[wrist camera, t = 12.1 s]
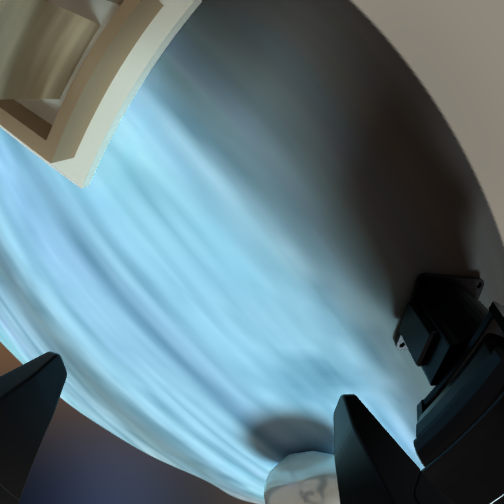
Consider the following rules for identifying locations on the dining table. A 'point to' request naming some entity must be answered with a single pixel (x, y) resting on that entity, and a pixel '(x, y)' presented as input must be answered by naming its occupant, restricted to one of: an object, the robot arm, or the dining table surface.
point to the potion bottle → (303, 480)
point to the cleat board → (96, 83)
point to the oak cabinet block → (39, 48)
